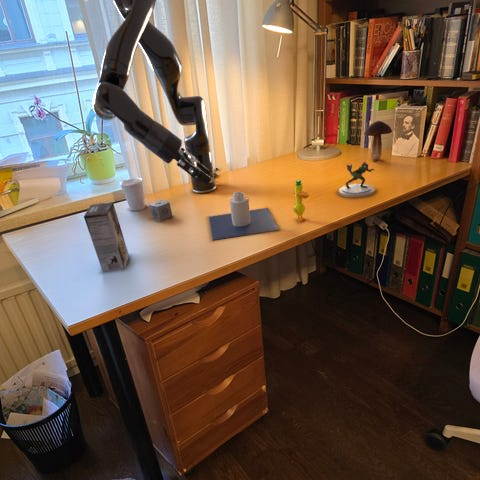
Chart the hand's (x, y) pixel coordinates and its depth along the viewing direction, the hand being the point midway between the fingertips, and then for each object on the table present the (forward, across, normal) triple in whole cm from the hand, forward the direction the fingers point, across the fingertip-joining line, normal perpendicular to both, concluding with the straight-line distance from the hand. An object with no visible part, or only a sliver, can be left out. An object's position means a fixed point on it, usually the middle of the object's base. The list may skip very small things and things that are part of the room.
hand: (208, 177), depth 122 cm
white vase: (+17, 0, +5) cm, 17 cm away
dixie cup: (-8, +32, +31) cm, 45 cm away
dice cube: (-1, +17, +24) cm, 29 cm away
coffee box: (-10, -16, +32) cm, 37 cm away
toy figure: (+30, -5, -8) cm, 31 cm away
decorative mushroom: (+62, +48, -39) cm, 87 cm away
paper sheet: (+17, 0, +5) cm, 18 cm away
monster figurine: (+47, +13, -24) cm, 54 cm away
